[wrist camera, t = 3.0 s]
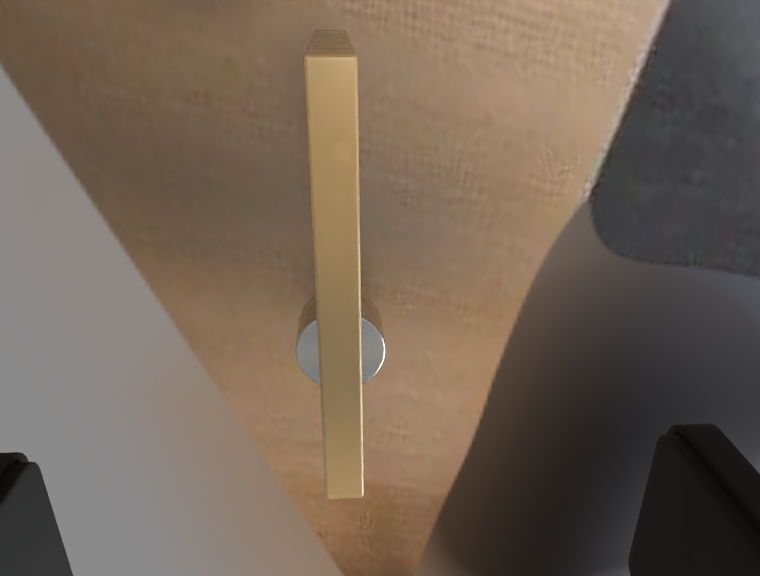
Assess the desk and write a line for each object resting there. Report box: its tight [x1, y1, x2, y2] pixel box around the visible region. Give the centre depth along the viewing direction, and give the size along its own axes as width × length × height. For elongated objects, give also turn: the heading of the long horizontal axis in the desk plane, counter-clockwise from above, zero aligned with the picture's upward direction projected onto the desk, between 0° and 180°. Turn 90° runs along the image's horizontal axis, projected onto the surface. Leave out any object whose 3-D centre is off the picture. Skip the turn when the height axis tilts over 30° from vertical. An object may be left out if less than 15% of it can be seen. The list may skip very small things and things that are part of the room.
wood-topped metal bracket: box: [296, 30, 385, 499], centre depth 18 cm, size 12×3×8 cm, turn 0°
